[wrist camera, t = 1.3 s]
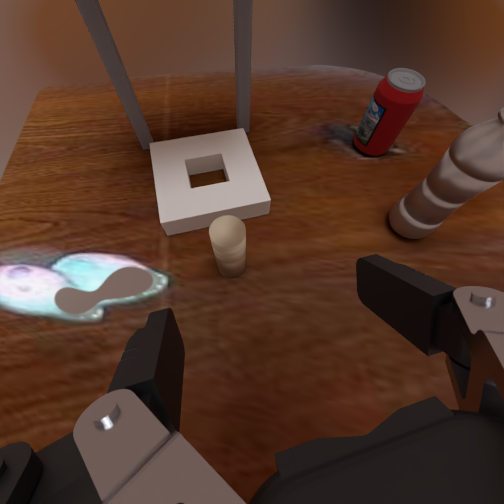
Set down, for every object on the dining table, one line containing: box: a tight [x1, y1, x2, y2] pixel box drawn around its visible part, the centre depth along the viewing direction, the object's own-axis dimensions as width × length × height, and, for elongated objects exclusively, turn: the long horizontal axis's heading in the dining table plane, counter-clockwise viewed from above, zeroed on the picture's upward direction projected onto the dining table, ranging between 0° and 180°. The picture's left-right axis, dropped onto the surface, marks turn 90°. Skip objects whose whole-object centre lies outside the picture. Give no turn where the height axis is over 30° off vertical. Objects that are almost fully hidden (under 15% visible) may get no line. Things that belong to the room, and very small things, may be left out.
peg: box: [209, 215, 246, 278], centre depth 31 cm, size 4×4×10 cm
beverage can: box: [354, 68, 425, 155], centre depth 41 cm, size 7×7×12 cm
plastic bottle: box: [389, 107, 504, 239], centre depth 30 cm, size 6×7×20 cm
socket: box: [149, 128, 271, 236], centre depth 40 cm, size 16×16×4 cm
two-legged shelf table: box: [75, 0, 252, 150], centre depth 33 cm, size 14×20×26 cm
